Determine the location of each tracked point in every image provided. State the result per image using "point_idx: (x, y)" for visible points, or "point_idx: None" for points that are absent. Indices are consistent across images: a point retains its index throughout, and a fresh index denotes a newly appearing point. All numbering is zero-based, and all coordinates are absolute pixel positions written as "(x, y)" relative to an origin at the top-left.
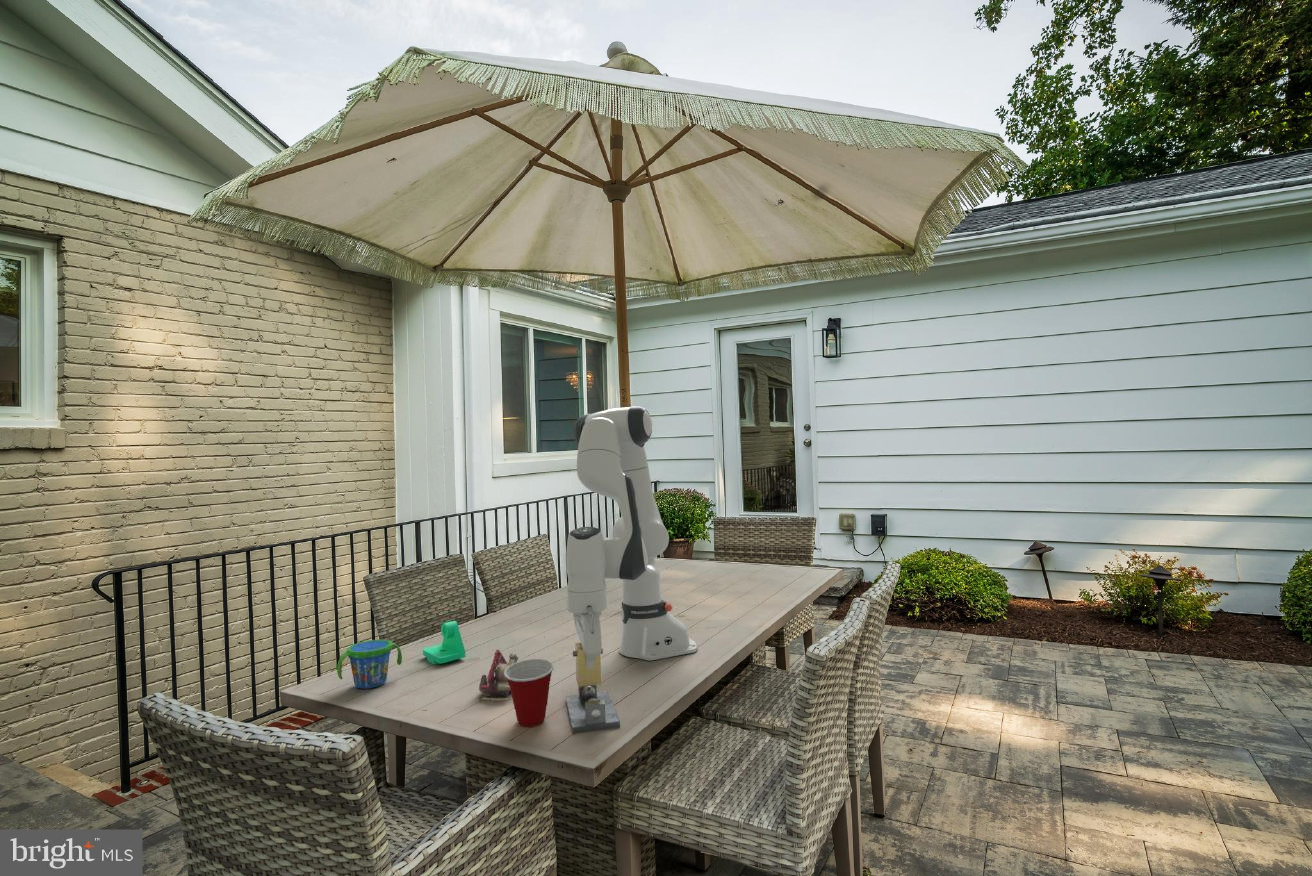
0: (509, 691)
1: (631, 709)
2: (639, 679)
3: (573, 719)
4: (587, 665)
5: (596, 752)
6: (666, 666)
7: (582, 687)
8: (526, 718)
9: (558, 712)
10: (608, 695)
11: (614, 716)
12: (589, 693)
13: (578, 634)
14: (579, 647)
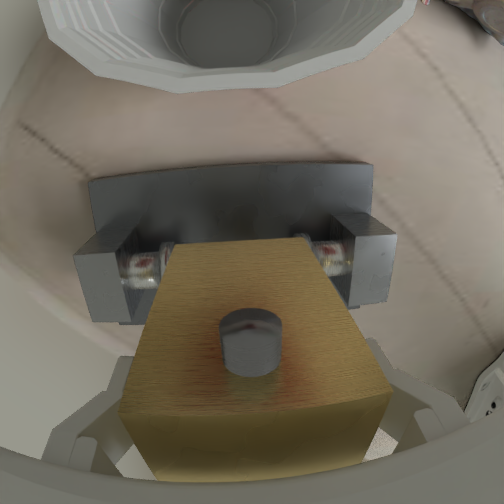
0: (451, 2)
1: None
2: (415, 368)
3: (149, 183)
4: (116, 372)
5: (3, 244)
6: None
7: (346, 241)
8: (170, 10)
9: (281, 127)
10: None
11: None
12: None
13: (439, 475)
14: (221, 434)
